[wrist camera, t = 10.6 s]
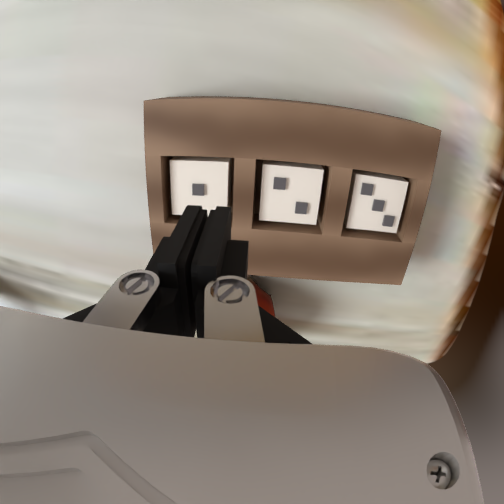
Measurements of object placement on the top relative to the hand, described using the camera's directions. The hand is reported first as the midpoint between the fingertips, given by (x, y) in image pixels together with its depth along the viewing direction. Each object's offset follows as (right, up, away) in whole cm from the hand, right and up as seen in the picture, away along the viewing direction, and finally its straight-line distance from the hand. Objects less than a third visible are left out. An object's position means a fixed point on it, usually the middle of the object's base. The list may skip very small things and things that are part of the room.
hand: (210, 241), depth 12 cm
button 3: (+12, +4, +13) cm, 18 cm away
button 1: (-2, +5, +13) cm, 14 cm away
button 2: (+5, +5, +13) cm, 14 cm away
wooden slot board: (+5, +6, +15) cm, 17 cm away
